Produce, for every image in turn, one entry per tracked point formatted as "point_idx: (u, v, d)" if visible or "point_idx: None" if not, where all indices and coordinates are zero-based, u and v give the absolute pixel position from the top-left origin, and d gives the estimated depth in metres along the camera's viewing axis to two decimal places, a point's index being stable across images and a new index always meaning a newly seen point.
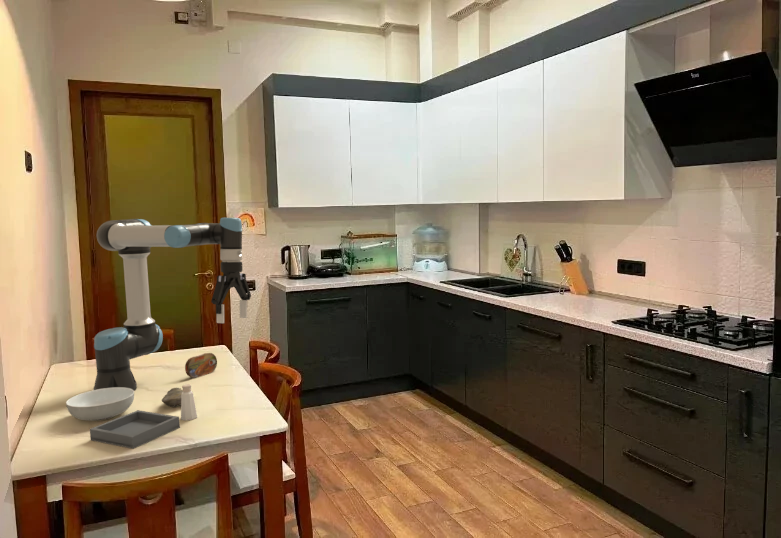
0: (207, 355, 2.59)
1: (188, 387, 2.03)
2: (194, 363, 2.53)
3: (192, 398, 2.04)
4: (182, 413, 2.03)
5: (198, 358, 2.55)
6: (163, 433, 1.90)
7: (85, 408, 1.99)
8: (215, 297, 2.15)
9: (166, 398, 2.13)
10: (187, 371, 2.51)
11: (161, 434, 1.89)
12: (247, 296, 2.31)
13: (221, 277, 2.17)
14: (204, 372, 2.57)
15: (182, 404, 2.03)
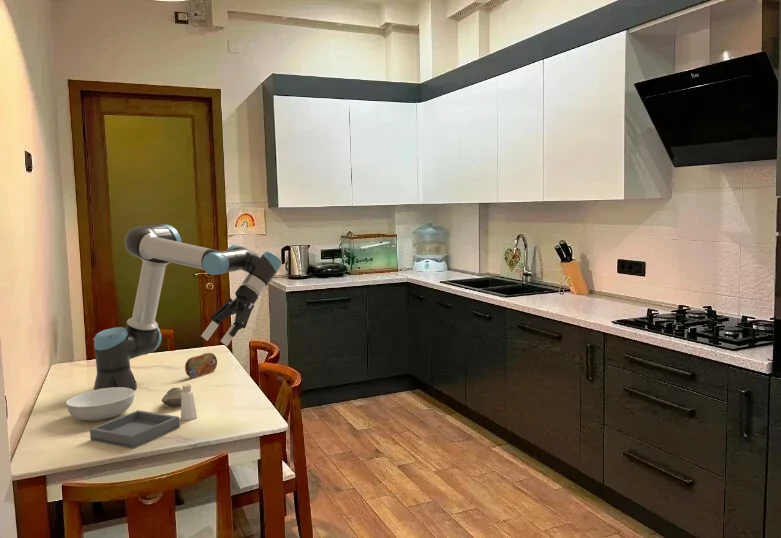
0: (207, 355, 2.59)
1: (188, 387, 2.03)
2: (194, 363, 2.53)
3: (192, 398, 2.04)
4: (182, 413, 2.03)
5: (198, 358, 2.55)
6: (163, 433, 1.90)
7: (85, 408, 1.99)
8: (244, 321, 2.06)
9: (166, 398, 2.14)
10: (187, 371, 2.51)
11: (161, 434, 1.89)
12: None
13: (252, 305, 2.11)
14: (204, 372, 2.57)
15: (182, 404, 2.03)
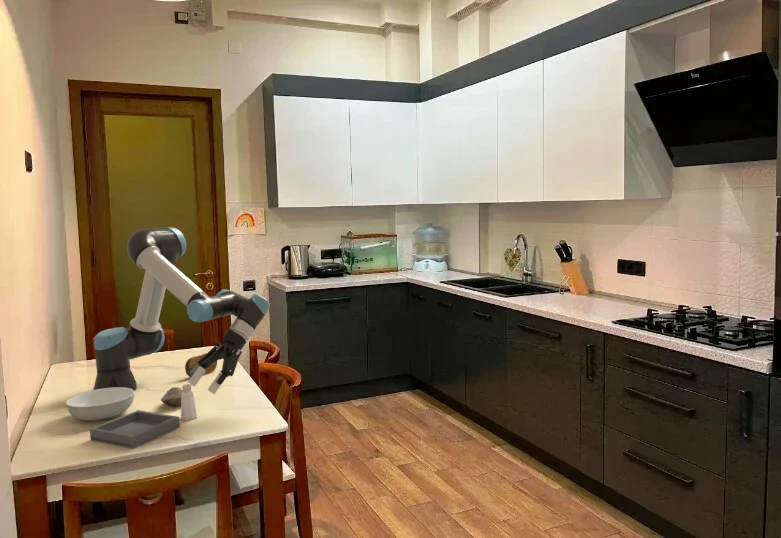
0: None
1: (188, 387, 2.03)
2: (194, 363, 2.53)
3: (192, 398, 2.04)
4: (182, 413, 2.03)
5: (198, 358, 2.55)
6: (163, 433, 1.90)
7: (85, 408, 1.99)
8: (232, 369, 2.03)
9: (165, 397, 2.14)
10: (187, 371, 2.51)
11: (161, 434, 1.89)
12: None
13: (240, 351, 2.08)
14: None
15: (182, 404, 2.03)
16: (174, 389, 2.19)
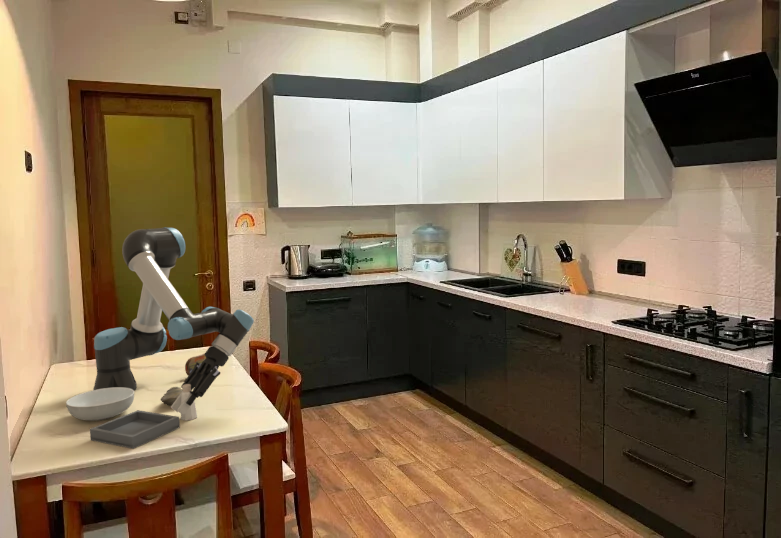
0: None
1: (188, 387, 2.03)
2: (194, 363, 2.53)
3: None
4: None
5: (198, 358, 2.55)
6: (163, 433, 1.90)
7: (85, 408, 1.99)
8: (202, 391, 2.01)
9: (165, 397, 2.15)
10: (187, 371, 2.51)
11: (161, 434, 1.89)
12: None
13: (218, 373, 2.04)
14: None
15: None
16: (174, 389, 2.19)
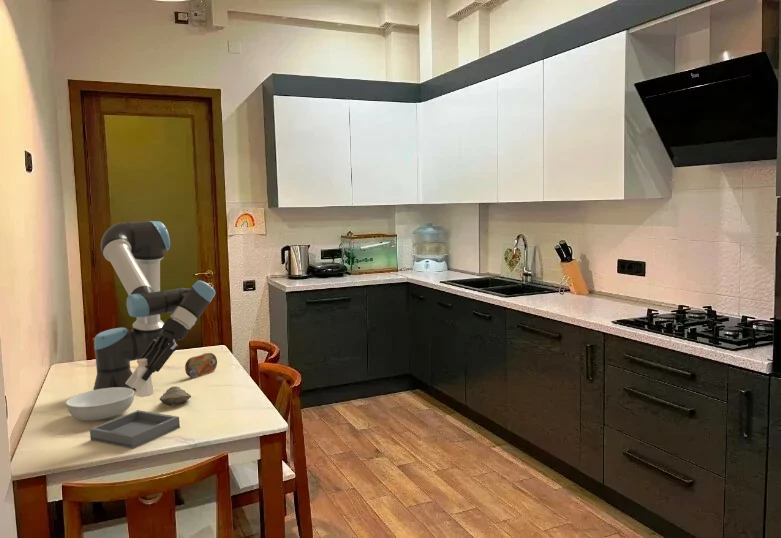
0: (207, 355, 2.59)
1: (144, 361, 1.91)
2: (194, 363, 2.53)
3: None
4: None
5: (198, 358, 2.55)
6: (163, 433, 1.90)
7: (85, 408, 1.99)
8: (159, 365, 1.89)
9: (164, 397, 2.15)
10: (187, 371, 2.51)
11: (161, 434, 1.89)
12: None
13: (176, 346, 1.92)
14: (204, 372, 2.57)
15: None
16: (173, 388, 2.20)
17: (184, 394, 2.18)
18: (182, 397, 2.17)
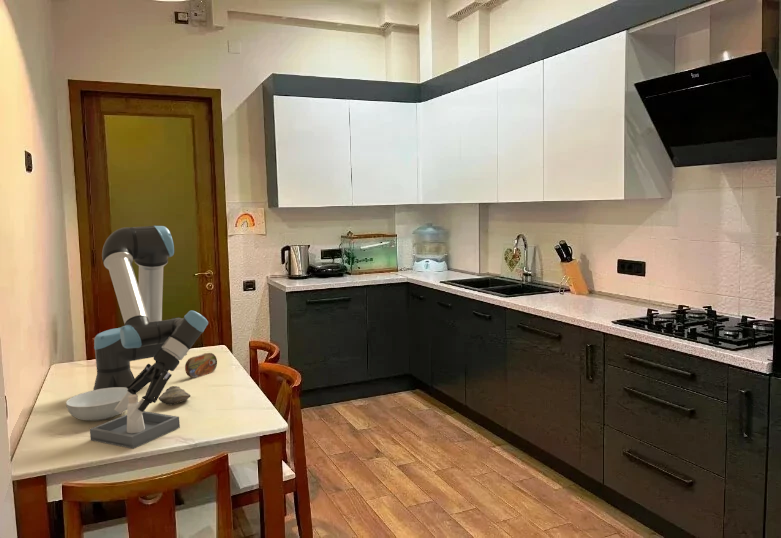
0: (207, 355, 2.59)
1: (134, 398, 1.90)
2: (194, 363, 2.53)
3: None
4: (128, 425, 1.90)
5: (198, 358, 2.55)
6: (163, 433, 1.90)
7: (85, 408, 1.99)
8: (155, 395, 1.87)
9: (163, 396, 2.16)
10: (187, 371, 2.51)
11: (161, 434, 1.89)
12: None
13: (169, 375, 1.91)
14: (204, 372, 2.57)
15: None
16: (172, 388, 2.20)
17: (183, 394, 2.19)
18: (181, 397, 2.17)
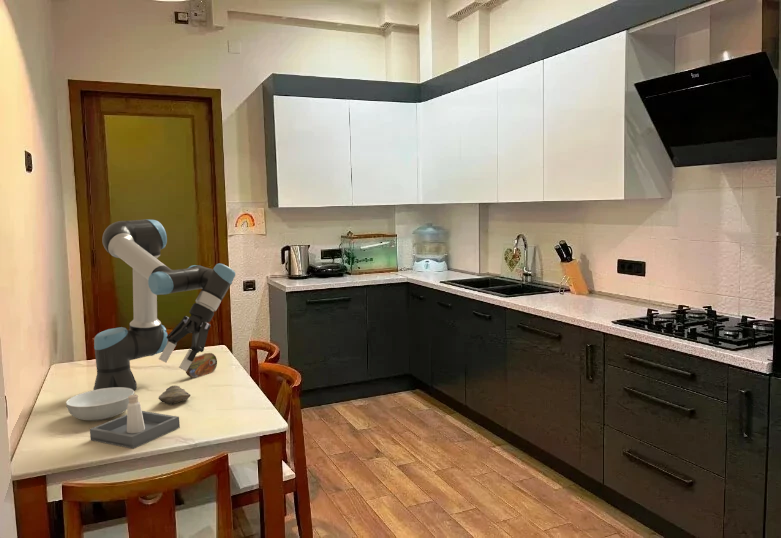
0: (207, 355, 2.59)
1: (134, 398, 1.90)
2: (194, 363, 2.53)
3: (139, 409, 1.91)
4: (128, 425, 1.90)
5: (198, 358, 2.55)
6: (163, 433, 1.90)
7: (85, 408, 1.99)
8: (201, 345, 1.99)
9: (163, 396, 2.16)
10: (187, 371, 2.51)
11: (161, 434, 1.89)
12: None
13: (209, 325, 2.03)
14: (204, 372, 2.57)
15: (128, 416, 1.90)
16: (172, 387, 2.21)
17: (183, 393, 2.19)
18: (181, 396, 2.18)
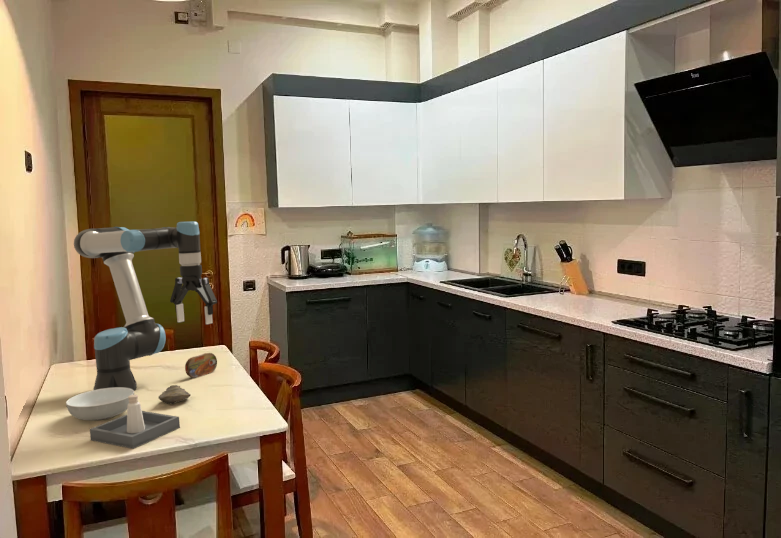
0: (207, 355, 2.59)
1: (134, 398, 1.90)
2: (194, 363, 2.53)
3: (139, 409, 1.91)
4: (128, 425, 1.90)
5: (198, 358, 2.55)
6: (163, 433, 1.90)
7: (85, 408, 1.99)
8: (213, 298, 2.22)
9: (162, 395, 2.17)
10: (187, 371, 2.51)
11: (161, 434, 1.89)
12: None
13: (207, 279, 2.23)
14: (204, 372, 2.57)
15: (128, 416, 1.90)
16: (172, 387, 2.21)
17: (183, 393, 2.20)
18: (180, 396, 2.18)
